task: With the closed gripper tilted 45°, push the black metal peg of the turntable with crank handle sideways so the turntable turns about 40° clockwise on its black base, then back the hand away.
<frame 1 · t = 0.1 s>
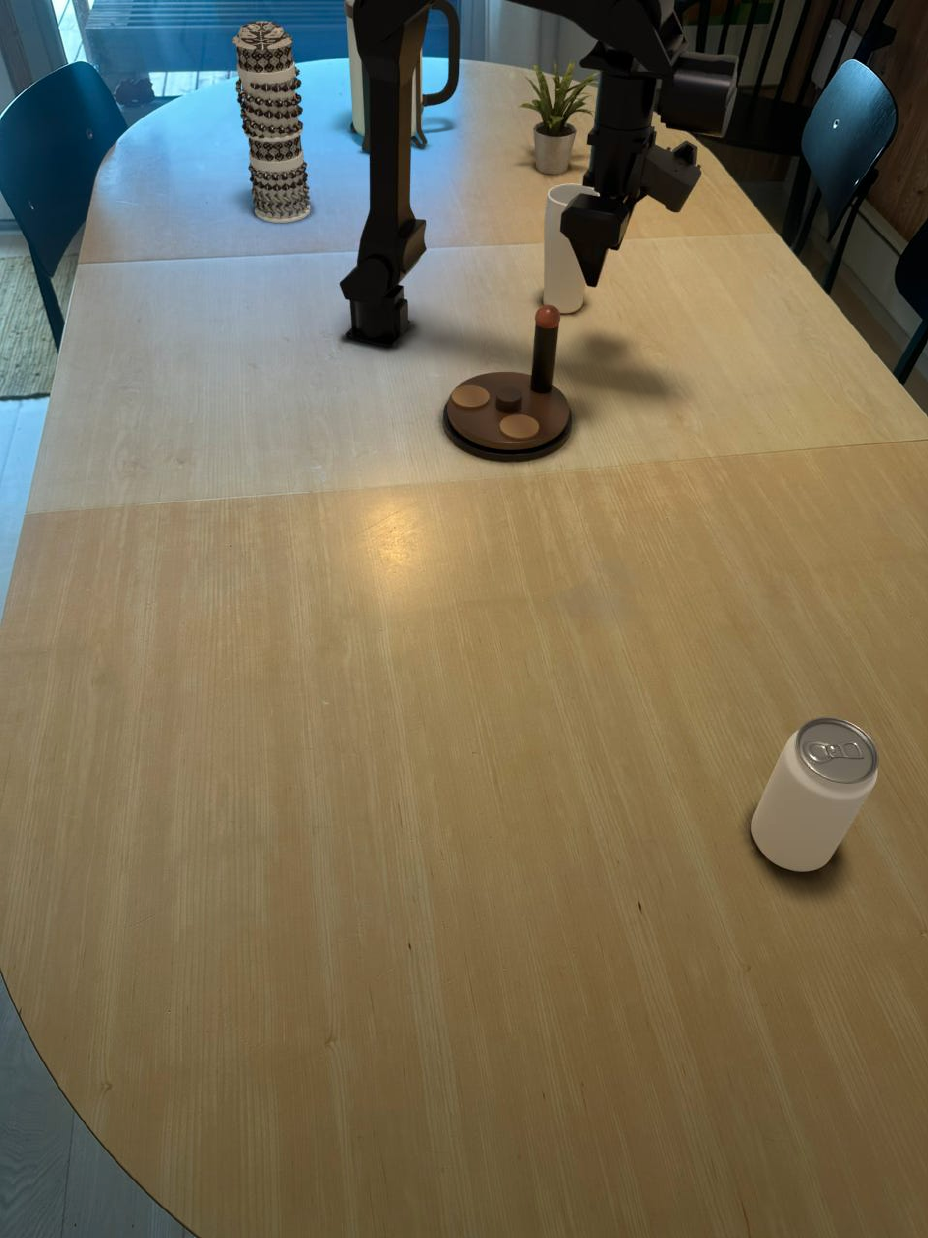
hand: (603, 267, 108), 15 cm above the table, tool pointing down, fingers open, 9 cm apart
can: (790, 838, 76), on the table
turntable with crank handle: (510, 369, 108), point 7 cm above the table, hinge at 0.0°
holder base: (507, 422, 113), on the table
house plant: (555, 172, 161), on the table
coffee press: (395, 138, 169), on the table
decorative candle: (283, 211, 149), on the table
drinking glass: (562, 306, 131), on the table
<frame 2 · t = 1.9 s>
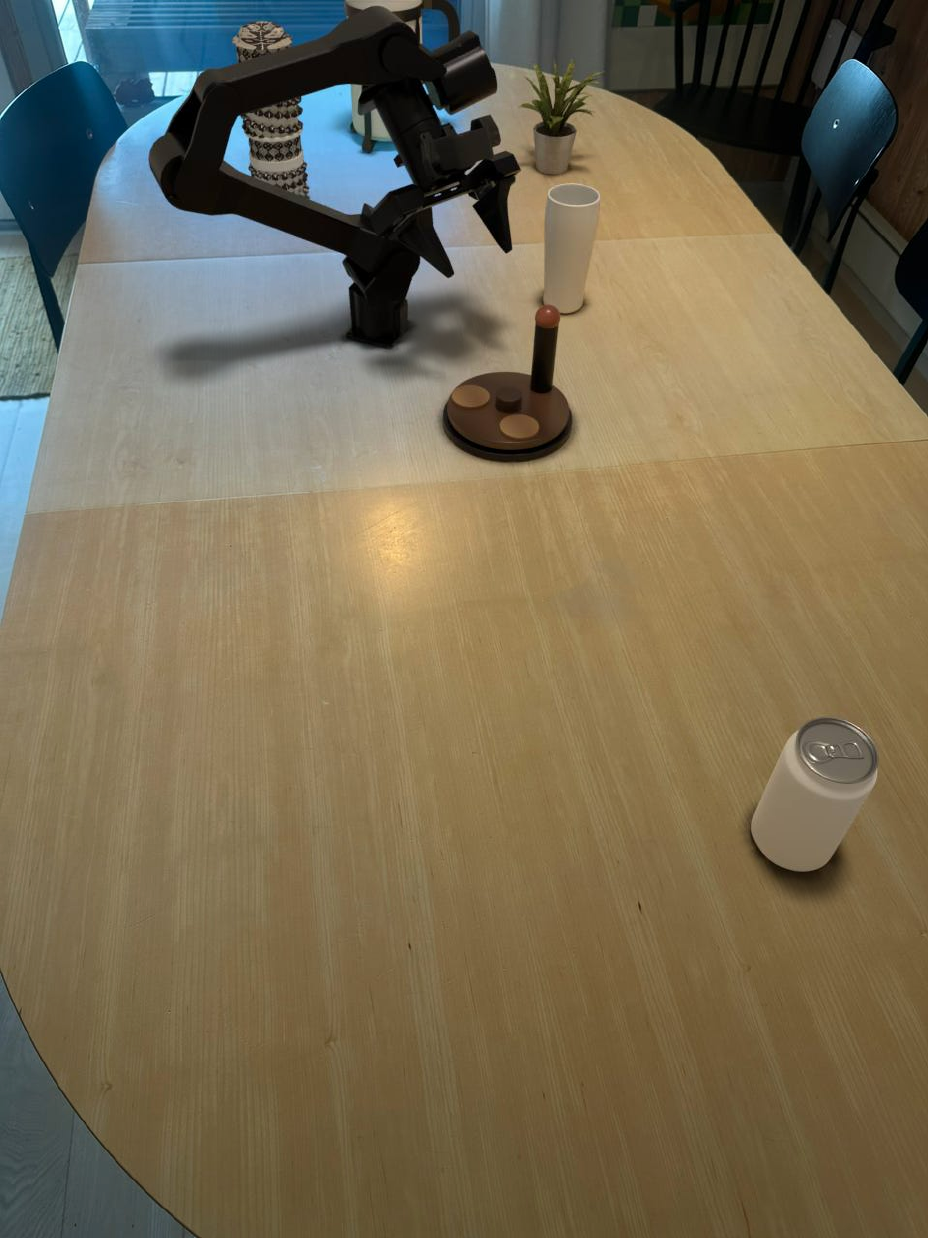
hand: (480, 263, 110), 14 cm above the table, tool tilted 45°, fingers open, 9 cm apart
nothing on the table moved.
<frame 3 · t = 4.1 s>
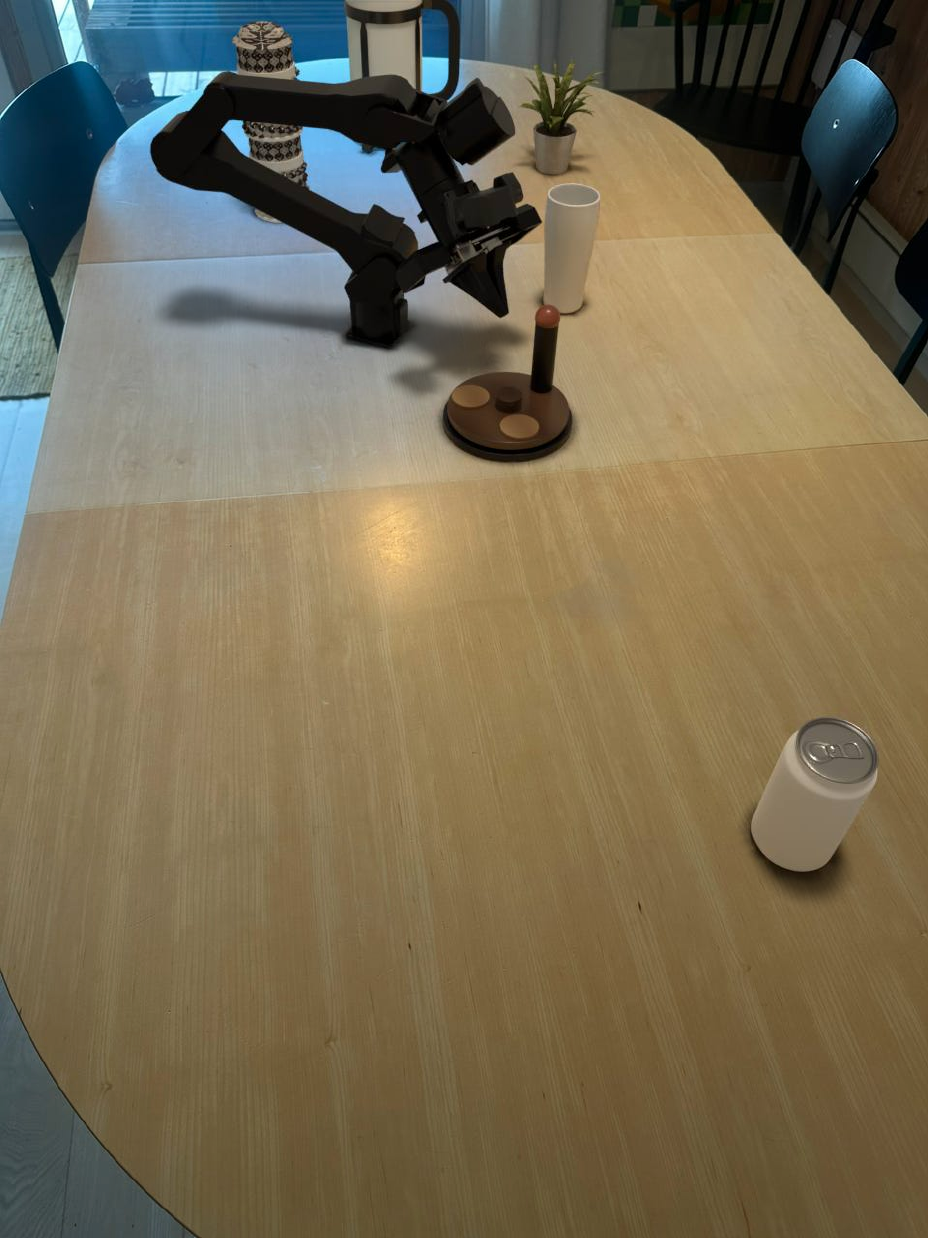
hand: (504, 315, 112), 9 cm above the table, tool tilted 45°, fingers closed
nothing on the table moved.
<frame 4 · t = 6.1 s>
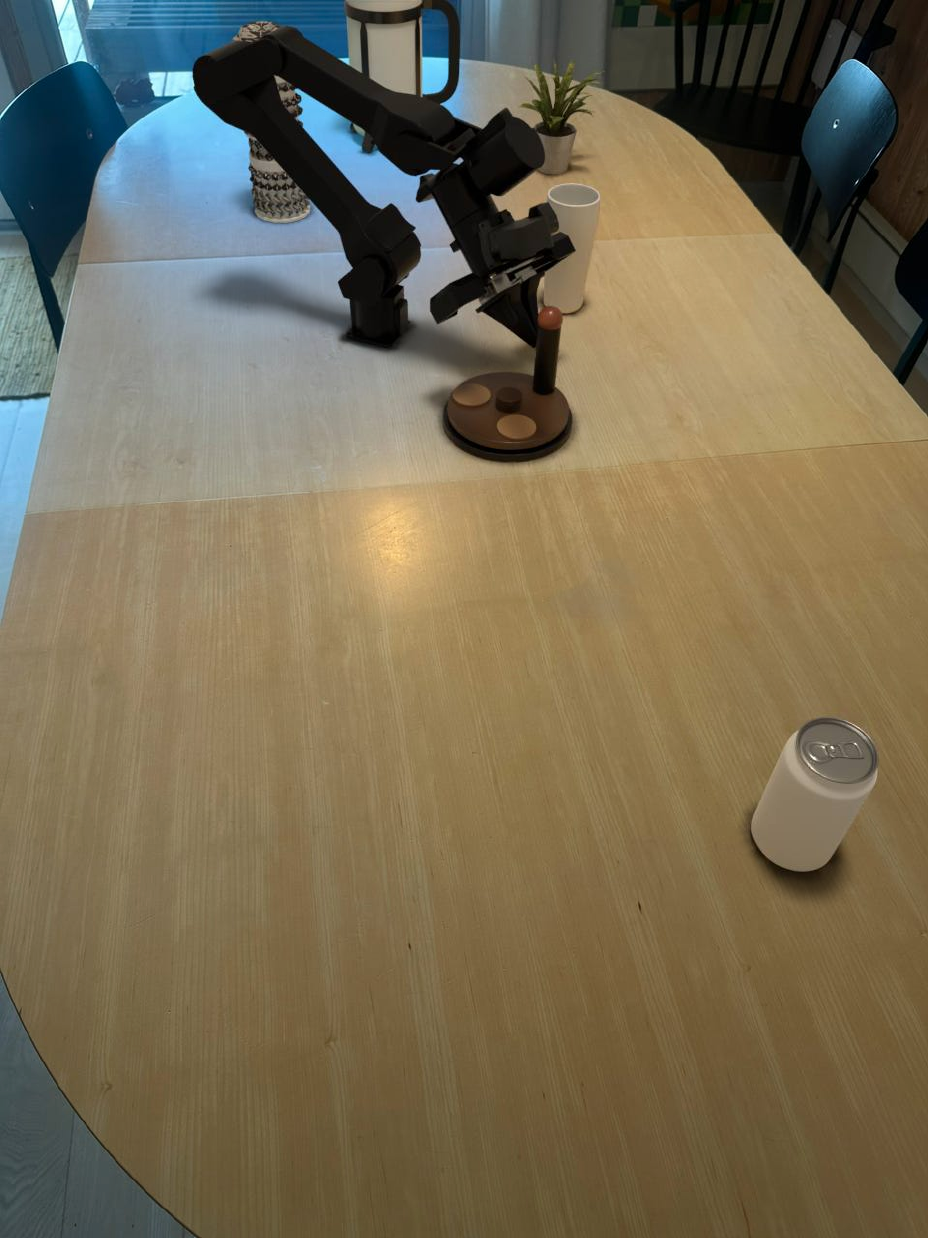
hand: (538, 346, 111), 7 cm above the table, tool tilted 45°, fingers closed, pressing on turntable with crank handle
turntable with crank handle: (510, 369, 108), point 7 cm above the table, hinge at 4.2°, touching gripper
everything else where it was.
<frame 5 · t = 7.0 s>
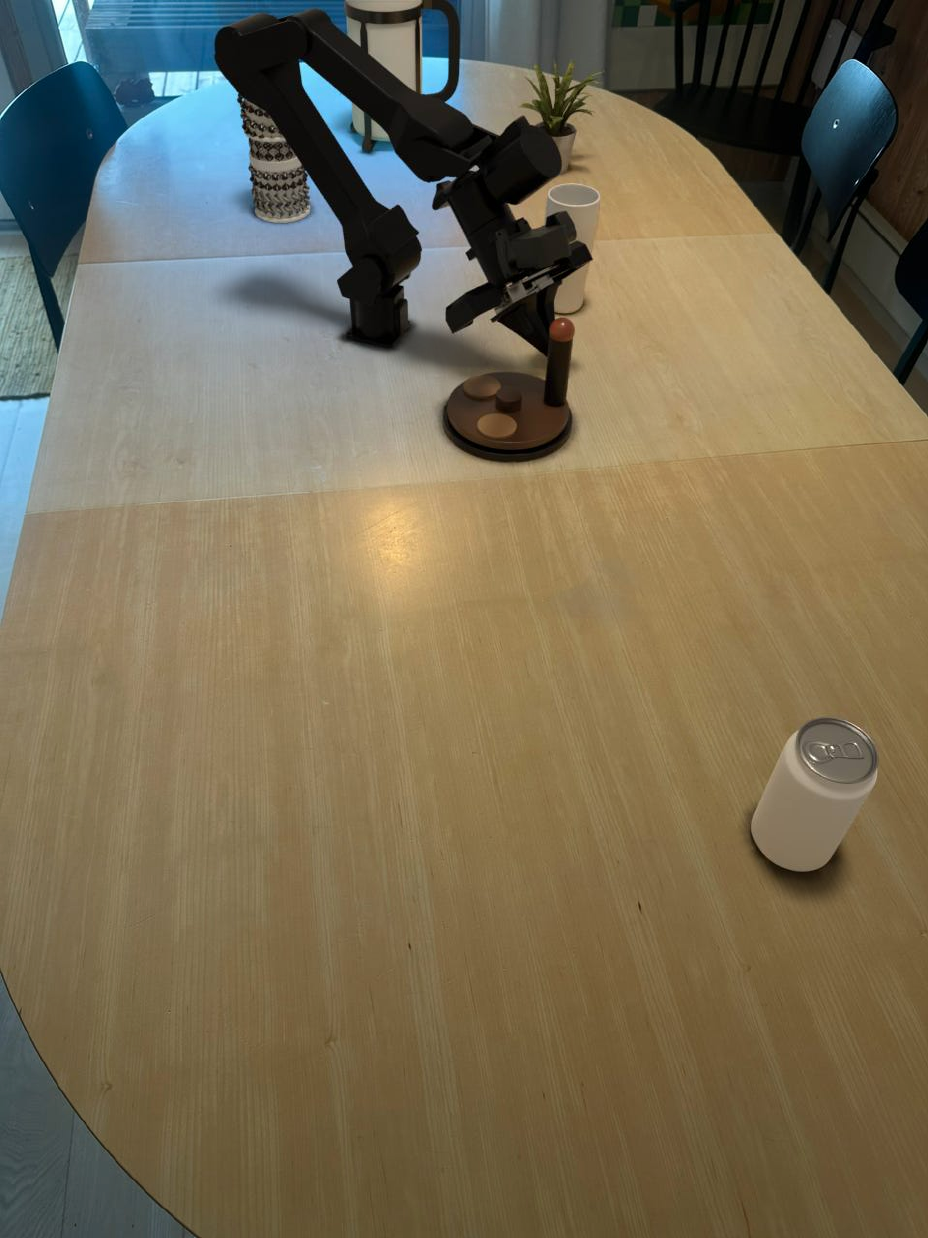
hand: (554, 355, 109), 7 cm above the table, tool tilted 45°, fingers closed
turntable with crank handle: (510, 369, 108), point 7 cm above the table, hinge at 32.1°, touching gripper
everything else where it was.
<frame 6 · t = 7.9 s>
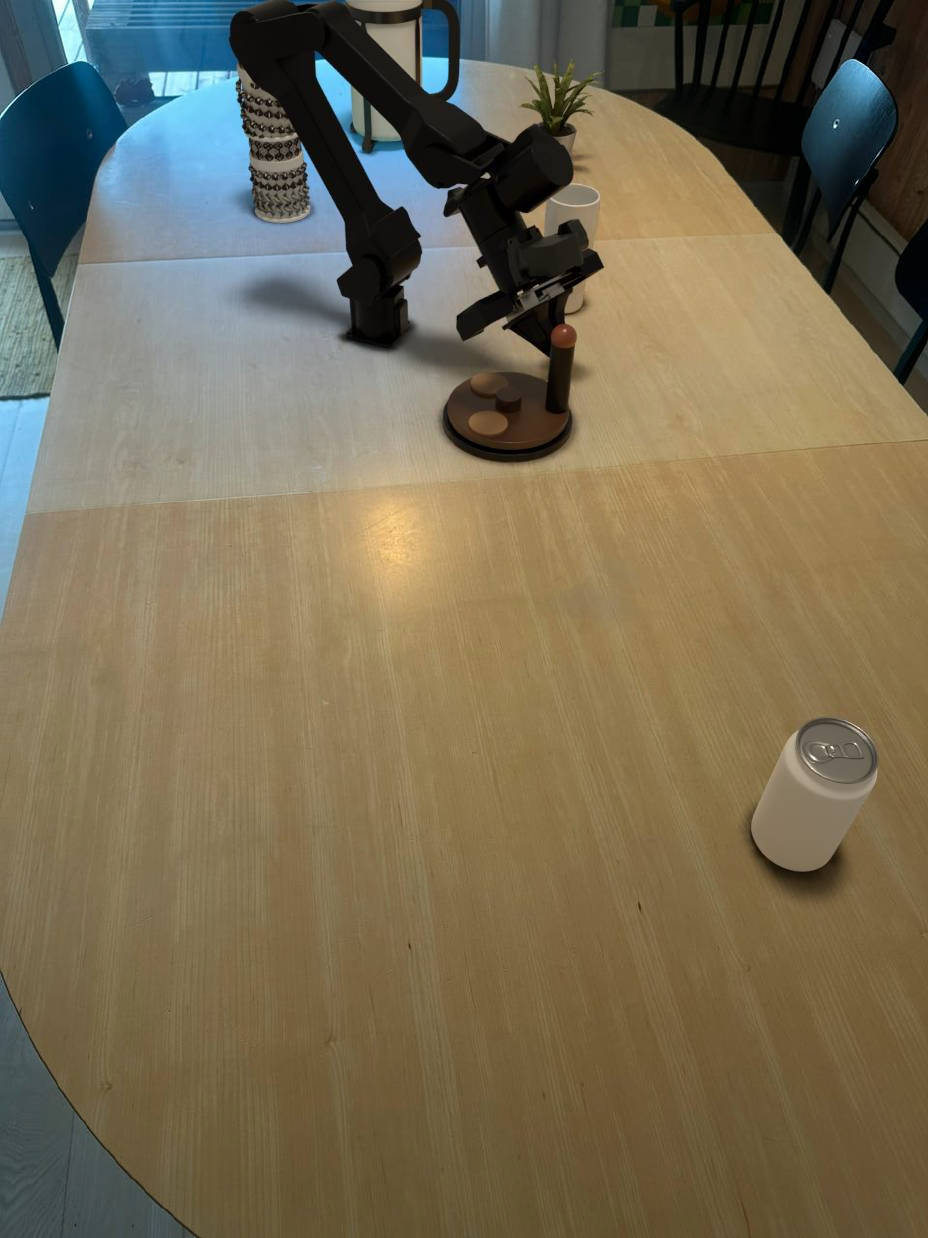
hand: (565, 364, 109), 7 cm above the table, tool tilted 45°, fingers closed
turntable with crank handle: (510, 369, 108), point 7 cm above the table, hinge at 45.6°, touching gripper
everything else where it was.
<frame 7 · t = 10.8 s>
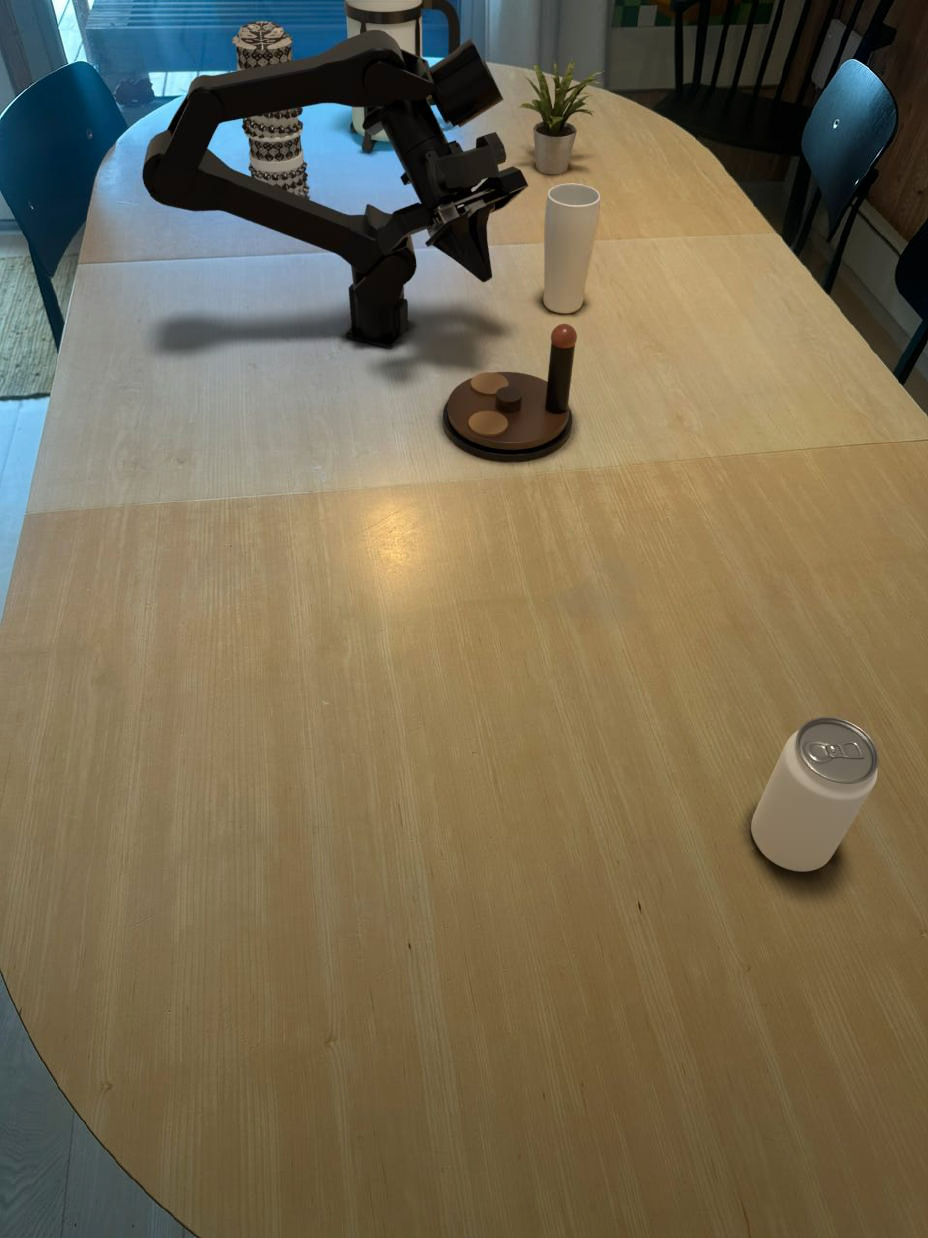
hand: (487, 280, 111), 12 cm above the table, tool tilted 45°, fingers closed
turntable with crank handle: (510, 369, 108), point 7 cm above the table, hinge at 45.7°
everything else where it was.
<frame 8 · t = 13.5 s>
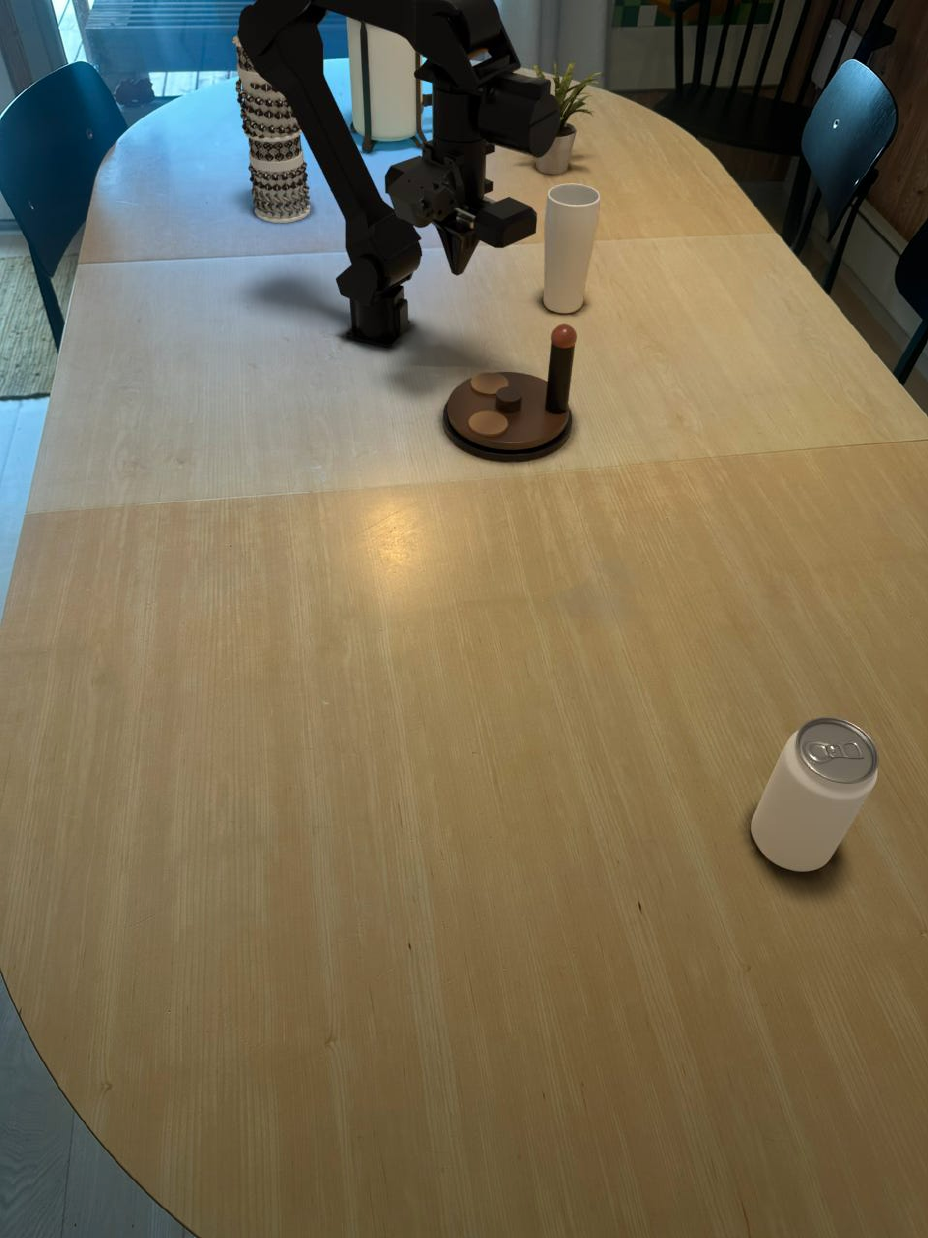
hand: (457, 273, 112), 12 cm above the table, tool pointing down, fingers closed
nothing on the table moved.
at the end: turntable with crank handle at +46° (first picture: +0°); drinking glass moved 0.2 cm from its start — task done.
